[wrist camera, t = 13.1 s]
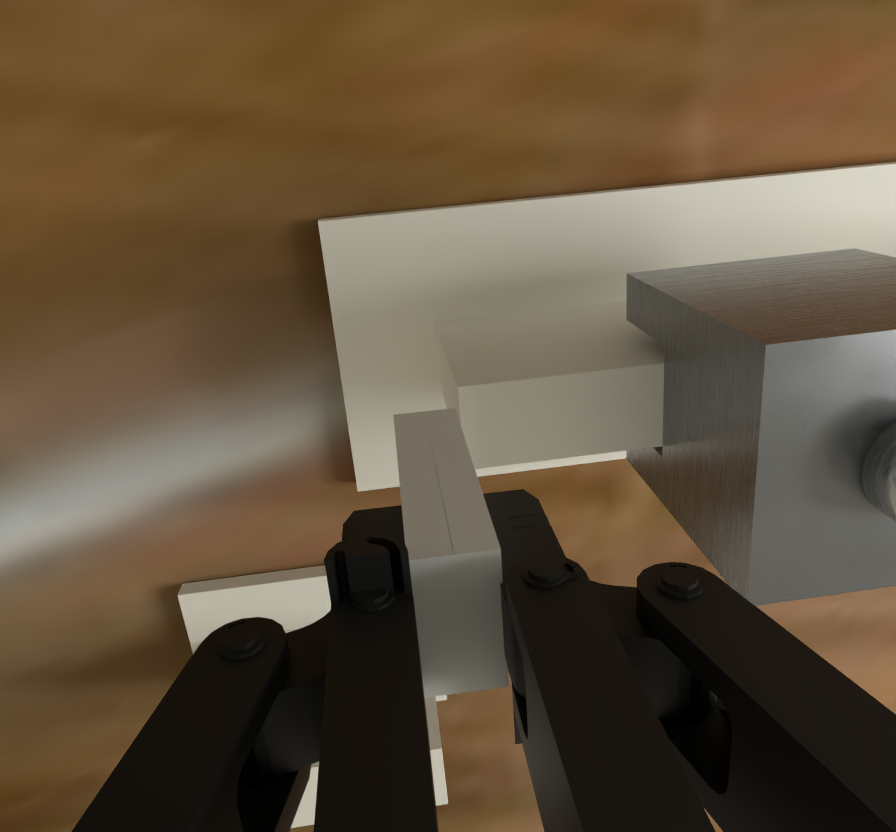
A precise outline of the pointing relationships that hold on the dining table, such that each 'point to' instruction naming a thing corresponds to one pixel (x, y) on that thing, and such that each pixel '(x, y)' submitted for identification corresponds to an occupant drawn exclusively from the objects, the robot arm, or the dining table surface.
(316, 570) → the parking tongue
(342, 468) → the dining table surface
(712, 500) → the grey cube with knob
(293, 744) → the robot arm
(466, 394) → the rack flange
